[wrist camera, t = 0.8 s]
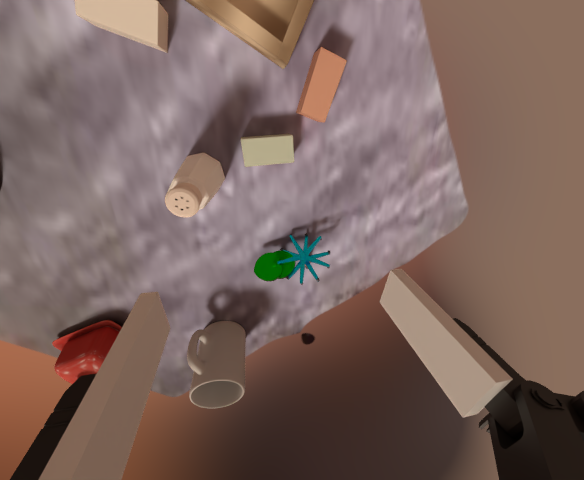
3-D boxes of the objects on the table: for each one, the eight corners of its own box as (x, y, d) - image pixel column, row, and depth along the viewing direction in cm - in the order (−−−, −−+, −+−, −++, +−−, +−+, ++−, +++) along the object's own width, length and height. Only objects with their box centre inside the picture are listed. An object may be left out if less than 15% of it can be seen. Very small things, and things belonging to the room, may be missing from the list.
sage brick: (245, 162, 29) (244, 166, 26) (241, 137, 27) (240, 139, 25) (290, 158, 29) (294, 162, 27) (288, 133, 28) (292, 135, 25)
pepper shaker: (223, 197, 30) (213, 234, 21) (181, 190, 29) (149, 227, 20) (227, 156, 28) (216, 178, 18) (180, 147, 26) (143, 165, 17)
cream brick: (97, 27, 21) (76, 14, 18) (93, -17, 19) (70, -37, 17) (167, 53, 22) (157, 45, 20) (169, 15, 21) (158, 1, 18)
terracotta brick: (317, 121, 28) (324, 122, 25) (295, 112, 27) (300, 112, 24) (336, 66, 25) (346, 60, 23) (313, 53, 24) (321, 47, 22)
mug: (253, 336, 46) (255, 393, 36) (219, 353, 46) (212, 414, 37) (217, 303, 40) (208, 361, 30) (178, 323, 40) (158, 387, 31)
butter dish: (106, 368, 43) (77, 419, 36) (53, 336, 37) (5, 390, 30) (158, 346, 43) (140, 394, 35) (113, 310, 37) (80, 359, 29)
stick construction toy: (322, 224, 33) (338, 273, 30) (324, 240, 40) (336, 282, 37) (247, 244, 34) (255, 294, 31) (260, 257, 40) (268, 300, 37)
